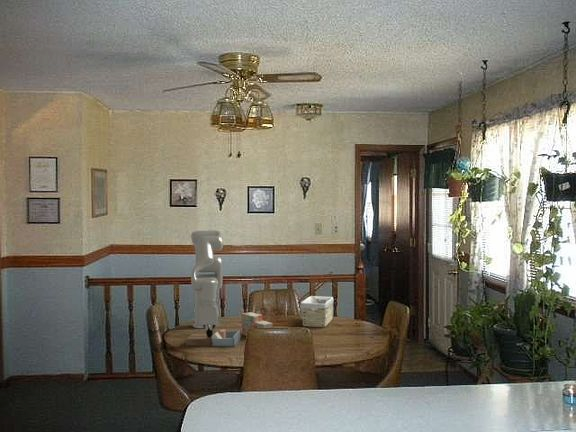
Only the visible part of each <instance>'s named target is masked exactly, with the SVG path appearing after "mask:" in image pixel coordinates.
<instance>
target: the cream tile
mask: <svg viewBox="0 0 576 432" xmlns="http://www.w3.org/2000/svg"><path fill="white" fill-rule="evenodd" d="M214 333H215V334H214V335H213V336H212V338H218V339H223V338H222V337H221V336H220V335H219V331H216V332H214Z"/></svg>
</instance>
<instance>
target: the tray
mask: <svg viewBox="0 0 576 432" xmlns="http://www.w3.org/2000/svg"><path fill="white" fill-rule="evenodd" d="M240 340H242V328H240V329H239V330H226V339H218V338H212V346H211V347H225V348H226V347H228V348H231V347H232V348H233V347H236V346H237V345H238V343H239V342H240Z"/></svg>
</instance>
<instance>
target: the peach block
mask: <svg viewBox="0 0 576 432" xmlns="http://www.w3.org/2000/svg"><path fill="white" fill-rule="evenodd" d="M226 331H227V330H226V329H225V328H224V329H222V328H221V329H220V330H219V331H218V333H219V335H220V336H221V337H222V338H223V339H226Z"/></svg>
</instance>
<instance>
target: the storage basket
mask: <svg viewBox="0 0 576 432" xmlns="http://www.w3.org/2000/svg"><path fill="white" fill-rule="evenodd" d="M319 301H321V302H325V303H318V302H319ZM334 301H335V300H334V297H333V296H324V295H323V296H319V295H316V296H315V295H309V296H308V297H306V298H305V299H304V300H302V301H301V302H300V310H301V311H300V312H301V319H302V326H304V327H311V328H312V327H313V328H325V327H327V326H328V325H329V324H330V322H331V321H332V320H333V313H334V309H333V308H334Z"/></svg>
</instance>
